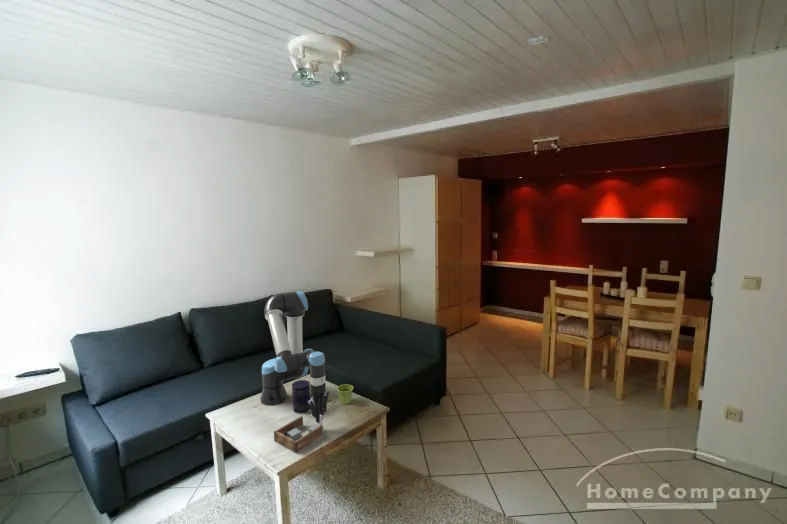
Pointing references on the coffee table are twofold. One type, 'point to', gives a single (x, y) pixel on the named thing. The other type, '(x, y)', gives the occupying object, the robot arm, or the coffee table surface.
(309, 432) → the tile
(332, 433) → the coffee table surface
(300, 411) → the storage jar
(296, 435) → the tile
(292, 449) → the frame
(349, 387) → the plant pot
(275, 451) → the coffee table surface
